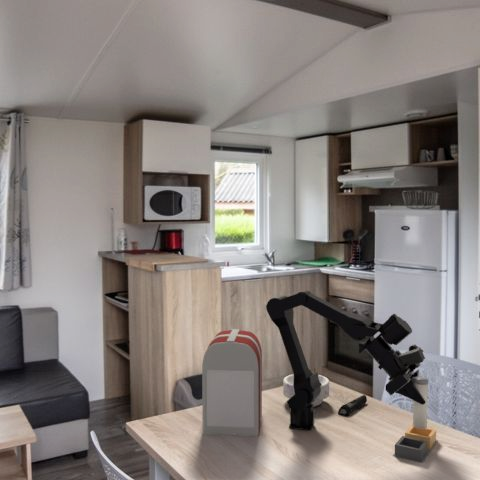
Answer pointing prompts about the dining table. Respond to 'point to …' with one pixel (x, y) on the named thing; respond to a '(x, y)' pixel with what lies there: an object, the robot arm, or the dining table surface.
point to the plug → (418, 408)
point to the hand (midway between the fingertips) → (425, 401)
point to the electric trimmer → (352, 406)
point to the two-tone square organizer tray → (416, 444)
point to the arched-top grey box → (232, 384)
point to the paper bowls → (289, 392)
